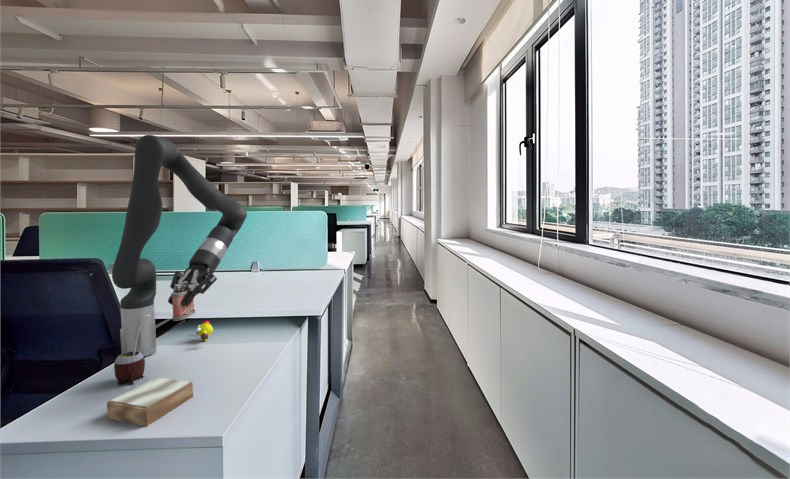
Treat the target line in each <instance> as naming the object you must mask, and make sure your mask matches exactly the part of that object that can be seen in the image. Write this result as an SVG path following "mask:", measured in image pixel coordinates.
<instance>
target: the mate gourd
mask: <svg viewBox="0 0 790 479" xmlns="http://www.w3.org/2000/svg"><path fill="white" fill-rule="evenodd" d="M141 327H142V325H140V327H139V328H138V330H137V333H136V335H135V343H134V350H133V351H131V352H126V353H123V354H122V353H121V354H119V355H118V356H117V357H116V359H115V360H114V365H113V369H114V370H113V371H114V376H115V378H116V381H117V382H116V384H117V385H124V384H125V383H126V384H127V383H129V385H130V386H133V385H135V382H134V381H137V379H138V380H141V379H143V377H144V378H145V375H144V372H145V366H146V365H145V364H146V361H145V357H144V356H143V354H142V353H140V352H138V351H136V345H137V338H138V333H139V331H140V329H141ZM140 378H141V379H140Z"/></svg>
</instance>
